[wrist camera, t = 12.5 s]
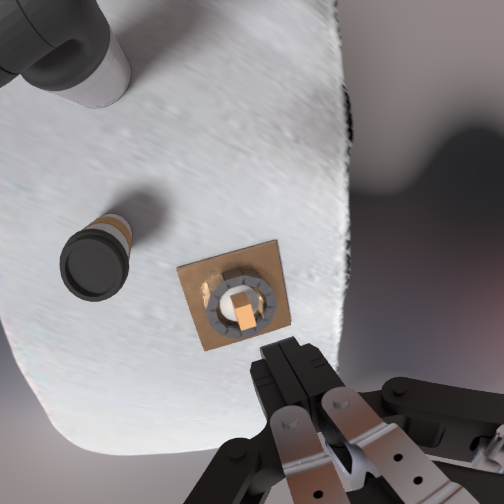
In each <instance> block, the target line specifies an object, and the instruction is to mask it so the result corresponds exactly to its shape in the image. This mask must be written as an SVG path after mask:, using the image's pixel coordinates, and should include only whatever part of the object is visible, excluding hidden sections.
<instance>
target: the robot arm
mask: <svg viewBox="0 0 504 504" xmlns="http://www.w3.org/2000/svg"><path fill="white" fill-rule="evenodd" d="M19 74H21V75H22V77H23V78H24V79H25V80H26V81H27V82H28V83H30V84H31V85H33V86H35V87H37V88H40V89H42V90H45V91H48V92H50V93H53V94H56V95H58V96H61V97H63V98H66V99H68V100H71V101H73V102H76V103H78V104H81V105H83V106H86V107H89V108H102V107H106V106H108V105H111V104H113V103H114V102H116V101H117V100H118V99H119V98H120V97H121V96H122V95H123V94H124V92H125V91H126V90H127V87H128V85H129V82H130V78H131V69H130V65H129V63H128V61H127V59H126V57H125V55H124V53H123V51H122V49H121V47H120V45H119V43H118V41H117V39H116V37H115V35H114V33H113V31H112V30H111V28H110V26H109V24H108V22H107V20H106V18H105V16H104V14H103V13H102V11H101V9H100V8H99V6H98V4H97V2H96V0H0V88H1V87H3V86H4V85H6V84H7V83H9V82H10V81H12V80H13V79H14V78H16V77H17V76H18V75H19ZM260 352H261V356H262V359H261V360H258V361H255V362H252V364H251V369H250V374H251V377H252V381H253V384H254V387H255V391H256V394H257V397H258V400H259V402H260V405H261V407H262V410H263V412H264V415H265V417H266V420H267V424H266V426H265V428H264V429H263V430H262V431H261V432H260V433H259V434H258V435H256V436H255V437H253V438H251V439H247V438H234V439H231V440H228V441H226V442H225V443H224V444H223V445H221V447H220V448H219V450H218V451H217V453H216V454H215V456H214V458H213V459H212V461H211V462H210V464H209V465H208V467H207V468H206V470H205V472H204V473H203V475H202V476H201V478H200V479H199V481H198V482H197V484H196V486H195V487H194V488H193V490H192V491H191V493H190V494H189V496H188V497H187V499H186V500H185V502H184V503H183V504H264V502H265V500H266V498H267V496H268V494H269V492H270V490H271V487H272V486H273V485H275V484H276V483H278V482H280V481H281V480H282V479H284V478H285V477H286V480H287V483H288V487H289V489H290V493H291V496H292V499H293V502H294V504H504V394H498V393H491V392H485V391H478V390H471V389H465V388H459V387H453V386H448V385H442V384H437V383H431V382H426V381H421V380H416V379H411V378H406V377H395V378H392V379H390V380H388V381H387V382H385V384H384V385H383V386H382V390H378V391H372V392H365V393H360V392H356V391H355V390H354V389H352V388H348V387H346V386H345V385H344V383H343V382H342V381H341V379H340V378H339V376H338V375H337V374H336V372H335V371H334V369H333V368H332V367H331V365H330V364H329V363H328V361H327V360H326V358H324V356H323V354H322V353H321V351H320V350H319V349H318V348H317V347H315V346H313V345H311V344H309V343H308V344H305V345H302V346H300V345H299V343H298V342H297V340H296V339H295V337H294V336H292V337H289V338H286V339H283V340H280V341H277V342H275V343H272V344H268V345H265V346H262V347H260ZM318 432H322V434H323V436H324V438H325V445H326V447H327V449H328V450H329V452H330V453H331V455H332V456H333V457H334V459H335V461H336V462H337V463H338V465H339V466H340V468H341V469H342V470H343V472H344V473H345V475H346V476H347V478H348V480H349V481H350V485H351V488H352V490H353V491H350V492H345V490H344V488H343V485H342V483H341V481H340V479H339V476H338V474H337V472H336V469H335V467H334V465H333V463H332V460H331V459H330V457H329V456H328V455H326V453H325V451H324V449H323V447H322V444H321V442H320V440H319V437H318V435H317V433H318ZM425 454H429V455H433V456H438V457H443V458H448V459H453V460H459V461H465V462H471V464H472V466H473V468H474V469H472V468H467V467H463V466H458V465H453V464H449V463H445V462H440V461H433V460H430V459H429V458H428V457H427V456H426V455H425Z"/></svg>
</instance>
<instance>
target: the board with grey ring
mask: <svg viewBox="0 0 504 504" xmlns="http://www.w3.org/2000/svg"><path fill="white" fill-rule="evenodd" d="M177 273H178V276H179V279H180V282H181V285H182V288H183V291H184V294H185V297H186V300H187V303H188V306H189V309H190V312H191V315H192V318H193V321H194V324H195V326H196V329H197V332H198V335H199V338H200V341H201V343H202V346H203V349H204V351H208V350H211V349H215V348H218V347H222V346H225V345H229V344H232V343H235V342H239V341H242V340H245V339H249V338H252V337H255V336H258V335H262V334H265V333H268V332H271V331H274V330H277V329H280V328H283V327H286V326H289V325H291V321H290V315H289V310H288V304H287V298H286V292H285V287H284V281H283V275H282V270H281V264H280V259H279V253H278V248H277V242H276V241H275V240H273V241H270V242H266V243H262V244H259V245H255V246H252V247H248V248H245V249H241V250H237V251H234V252H230V253H227V254H223V255H220V256H216V257H212V258H209V259H205V260H202V261H198V262H195V263H191V264H188V265H184V266H180V267H177ZM241 285H247V286H251V287H253V288H254V290H255V291H256V293H257V295H258V297H259V306H258V309H257V311H256V312H255V314H254V318H255V322H256V326H255V327H252V328H248V329H245V330H242V331H241V329H240V326H239V324H238V321H232V320H229V319H227V318H226V317H225V316H224V315H223V314H222V312H221V309H220V306H219V298H220V297H221V296H223V295H224V294H225V293H226V292H227V291H228V290H229V289H231V288H234V287H238V286H241Z"/></svg>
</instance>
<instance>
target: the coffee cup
mask: <svg viewBox="0 0 504 504" xmlns="http://www.w3.org/2000/svg"><path fill="white" fill-rule="evenodd" d="M131 240H132V230H131V228H130V225H129V224H128V222H127V221H126V220H125V219H124V218H123V217H121V216H119V215H116V214H106V215H103V216H101V217H100V218H97V219H96V220H95V221H93V222H92V223H90V224H89V225H88V226H86V227H85V228H84V229H82V230H81V231H79V232H77V233H75V234H74V235H73V236H71V237H70V238H69V240H68V241H67V243H66V244H65V246H64V248H63V250H62V253H61V256H60V272H61V277H62V279H63V282H64V284H65V286H66V287H67V288H68V289H69V291H70V292H71V293H73V294H74V295H75V296H76V297H78V298H80V299H82V300H86V301H90V302H99V301H102V300H106V299H108V298H110V297H112V296H113V295H115V294H116V293H117V292H118V291H119V290H120V289H121V288H122V286H123V284H124V283H125V281H126V279H127V276H128V271H129V257H130V251H131V244H132V241H131Z"/></svg>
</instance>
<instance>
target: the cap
mask: <svg viewBox="0 0 504 504" xmlns="http://www.w3.org/2000/svg"><path fill="white" fill-rule="evenodd" d="M219 306H220V309H221V312H222V314H223V315H224V316H225V317H226V318H227V319H229V320H232V321H238V324H239V326H240V329H241V331H242V330H245V329H248V328H252V327H255V326H256V322H255V318H254V314H255V312H256V311H257V309H258V306H259V297H258V295H257V293H256V291H255V290H254V288H253V287H251V286H247V285H241V286H238V287H234V288H231V289H229V290H228V291H227V292H226V293H225V294H224V295H223V296H221V297H220V298H219Z"/></svg>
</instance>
